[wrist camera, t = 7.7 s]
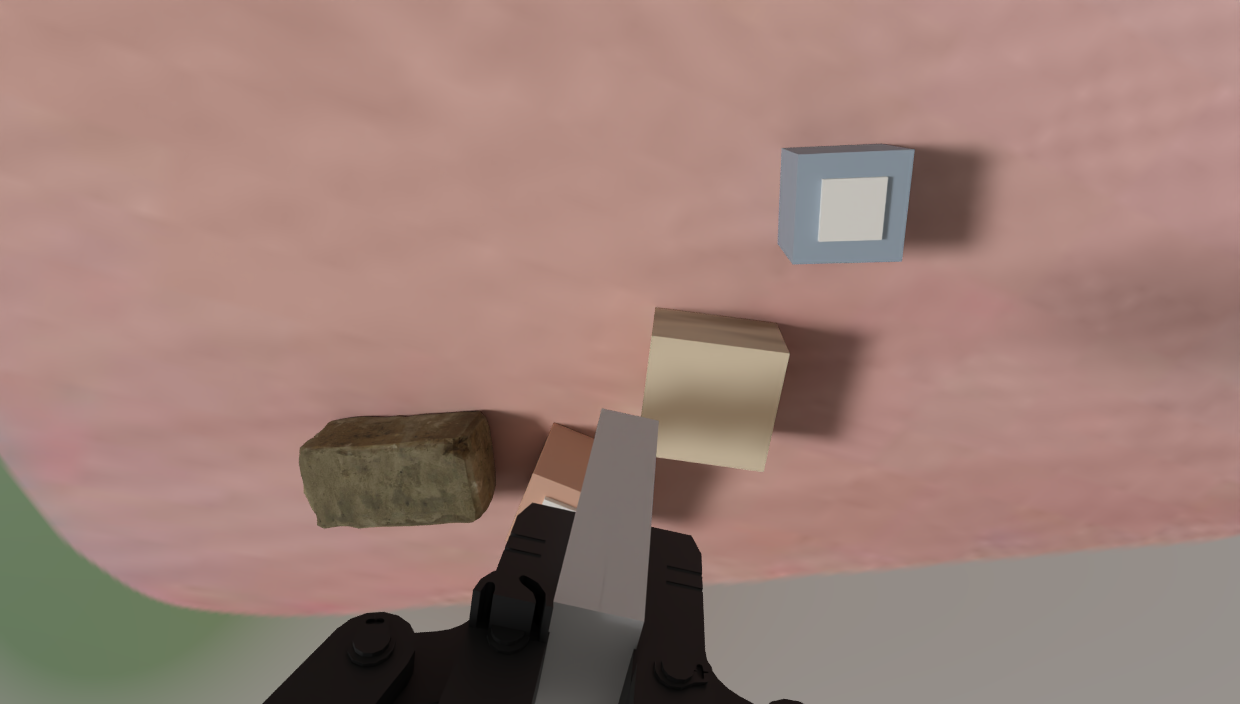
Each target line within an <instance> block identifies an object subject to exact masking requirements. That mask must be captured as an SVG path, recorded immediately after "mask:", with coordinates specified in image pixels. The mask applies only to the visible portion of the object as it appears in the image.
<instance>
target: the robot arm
mask: <svg viewBox="0 0 1240 704" xmlns="http://www.w3.org/2000/svg"><path fill="white" fill-rule="evenodd" d="M658 425H659V421H658V420H653V419H649V418H644V417H639V416H635V415H630V414H626V413H621V412H616V411H612V410H607V409H602V410H601V414H600V418H599V422H598V426H597V430H596V434H595V438H594V442H593V446H592V450H591V454H590V458H589V462H588V466H587V470H586V474H585V478H584V482H583V486H582V490H581V493H580V497H579V501H578V505H577V509H576V512H574V511H569V510H565V509H560V508H555V507H551V506H546V505H542V504H537V503H533V502H532V503H531V504H530V505H529V506H528V507H527V508H525V509H524V510H523V511H522V512H521V513H520V514H518V515H517V518H516V520H515V523H514V525H513V528H512V531H511V534H510V536H509V538H508V541H507V544H506V546H505V550H504V551H503V554H502V557H501V559H500V562H499V564H498V567H497V570H496V571H493V572H491V573H490V574H488V575H486V576H485V577H483V578H482V579H480V581H479V582H478V584H477V585H476V586H475V588H474V589H473V595H472V603H471V611H470V619H469V621H467V622H466V623H464V624H462V625H460V626H458V627H455V628H452V629H449V630H443V631H435V632H420V633H414V631H413V629H412V627H411V625H410V624H409V623H408V622H406V621H405V620H404V619H402V618H401V617H399V616H397V615H393V614H390V613H386V612H375V613H366V614H363V615H360V616H357V617H354V618H352V619H350V620H348V621H347V622H346V623H344V624H343V625H342V626H340V627H339V628H337V629H336V630H335V631H334V632H333V633H332V634H331V635H330V636H329V637H328V638H327V639H326V640H325V641H324V642H323V643H322V644H321V645H320V646H319V647H318V648H317V649H316V650H315V651H314V652H313V653H312V654H311V655H310V656H309V657H308V658H307V659H306V660H305V661H304V663H302V664H301V665H300V666H299V668H297V669H296V670H295V671H294V672H293V673H292V675H290V677H288V678H287V680H286V681H284V682H283V683H282V685H281V686H280V687H278V688H277V690H275V692H273V694H271V696H270V697H269V698H268V699H267V700H266V701H265V702H264V703H263V704H753V703H751V702H749V701H748V700H746V699H744V698H742V697H740V696H738V695H737V694H735V693H734V692H732V691H731V690H729V689H728V688H727V687H726V686H725V685H724V684H723V683H722V682H721V681H720V680H718V678H717V677H716V675H715V674H714V673H713V671H712V667H711V666H710V664H709V663H708V661H707V658H706V652H705V637H704V612H703V592H702V589H703V584H702V558H701V553H700V551H699V549H698V547H697V545H696V543H695V541H694V540H693V538H692V536H691V535H686V534H682V533H677V532H672V531H668V530H663V529H659V528H654V527H651V521H652V508H653V494H654V480H655V466H656V453H657V439H658ZM769 704H803V703H801V702H799V701H793V700H788V699H781V700H777V701H772V702H771V703H769Z"/></svg>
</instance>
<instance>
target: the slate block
mask: <svg viewBox="0 0 1240 704" xmlns="http://www.w3.org/2000/svg"><path fill="white" fill-rule="evenodd" d="M914 151H915V149H909V148H903V147H898V146H892V145H886V144H863V145H841V146H818V147H796V148H782V152H781V176H780V200H779V224H778V245H779V246H780V248H781V249H782V250H783V252H784V253H785V254H786V256H787V257H788V259H789V260H790V261H791V263H792V264H822V263H861V262H899V261H902V256H903V247H904V238H905V229H906V221H907V212H908V203H909V194H910V186H911V177H912V168H913V159H914Z"/></svg>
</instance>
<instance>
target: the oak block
mask: <svg viewBox="0 0 1240 704" xmlns="http://www.w3.org/2000/svg"><path fill="white" fill-rule="evenodd" d="M789 355H790V353H789V351H788V348H787V346H786V344H785V342H784V339H783V337H782V335H781V332H780V330H779V328H778V326H777V323H773V322H765V321H757V320H749V319H742V318H734V317H726V316H718V315H710V314H703V313H695V312H687V311H679V310H671V309H664V308H656V307H655V315H654V322H653V330H652V337H651V345H650V353H649V360H648V368H647V375H646V383H645V391H644V398H643V406H642V413H641V417H644V418H649V419H653V420H658V421H659V425H658V439H657V453H656V457H659V458H666V459H673V460H680V461H687V462H694V463H702V464H709V465H716V466H723V467H730V468H738V469H745V470H752V471H759V472H764V468H765V463H766V459H767V454H768V450H769V445H770V441H771V436H772V432H773V427H774V423H775V418H776V414H777V409H778V405H779V400H780V396H781V391H782V386H783V382H784V377H785V373H786V368H787V364H788V359H789Z"/></svg>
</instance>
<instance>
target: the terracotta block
mask: <svg viewBox="0 0 1240 704" xmlns="http://www.w3.org/2000/svg"><path fill="white" fill-rule="evenodd" d="M593 442H594V439H593V438H591V437H588V436H586V435H583V434H581V433H578V432H576V431H573V430H571V429H568V428H566V427H564V426H561V425H559V424H556V423H553V426H552V428H551V430H550V433H549V435H548V438H547V440H546V443H545V445H544V447H543V450H542V452H541V455H540V457H539V459H538V462H537V464H536V467H535V469H534V472H533V474H532V476H531V479H530V481H529V484H528V486H527V489H526V491H525V493H524V496H523V498H522V501H521V503H520V506H519V508H518V511H517V513H516V516H515V518H514V521H513V523H512V526H511V528H510V531H509V533H508V536H507V538H506V540H505V541H506V542H507V541H508V538H509V536H510V534H511V531H512V528H513V525H514V523H515V520H516V518H517V515H518V514H520V513H521V512H522V511H523V510H524V509H525V508H527V507H528V506H529V505H530V504H531V503H532V502H533V503H537V504H542V505H546V506H551V507H555V508H560V509H565V510H569V511H574V512H576V509H577V505H578V501H579V497H580V493H581V490H582V486H583V482H584V478H585V474H586V470H587V466H588V462H589V458H590V454H591V450H592V446H593Z"/></svg>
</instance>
